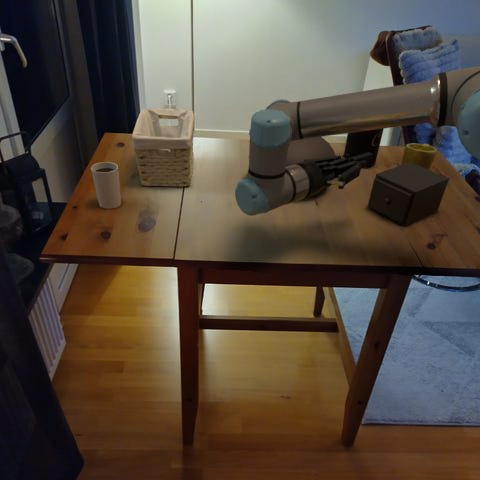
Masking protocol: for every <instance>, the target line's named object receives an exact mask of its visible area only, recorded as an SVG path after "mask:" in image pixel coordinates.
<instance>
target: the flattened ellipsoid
mask: <svg viewBox="0 0 480 480" xmlns="http://www.w3.org/2000/svg"><path fill="white" fill-rule="evenodd" d="M331 156H336V153H335V150H334V149H333V147H332V145H331V144H330V142H328V141H327V140H326V139H325V138H324V137H323V136H322V137H315V138H307V139H301V140H294V141H290V144H289V147H288V152H287V160H286V167H288V166H291V165H294V164H298V163H301V162H304V159H318V158H324V157H331Z"/></svg>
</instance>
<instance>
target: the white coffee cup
mask: <svg viewBox="0 0 480 480" xmlns="http://www.w3.org/2000/svg"><path fill="white" fill-rule="evenodd" d="M90 170H91V174H92V179H93V184H94V189H95V192H96V193H95V194H96V196H97V202H98V205H99V207H100V208H103V209H107V210H108V209H111V210H112V209H116V208H118V207H120V206H121V205H122V197H121V186H120V184H121V183H120V174H119V173H120V172H119V165H118V164H116V163H114V162H111V161H102V162H97V163H94V164H92V165H91V166H90Z"/></svg>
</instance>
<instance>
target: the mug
mask: <svg viewBox="0 0 480 480" xmlns="http://www.w3.org/2000/svg"><path fill="white" fill-rule="evenodd" d="M436 155H437V148H436V147H434V146H433V145H430V144H428V143H423V144H422V143H415V142H413V143H412V142H411V143H406V145H405V147H404V150H403V155H402V161H401V165H403V164H406V163H409V162H411V163H413V164H416V165H418V166H420V167H423V168H425V169H428V170H430V171H431V168H432V165H433V162H434V160H435V159H436Z"/></svg>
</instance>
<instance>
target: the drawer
mask: <svg viewBox="0 0 480 480" xmlns="http://www.w3.org/2000/svg"><path fill="white" fill-rule="evenodd" d="M411 198H412V193H410V192H408V191H405V190H403V189H401V188H399V187H397V186H395V185H392V184H390V183H388V182H386V181H384V180H380V179H378V178H376V179H375V178H374V179H373V183H372V187H371V191H370V195H369V199H368V203H367V207H368V206H369V207H371V208H372V209H371V208H370V209H371V210H373V209H374V210H373V211H375V210H376V211H375V212H377V211H378V212H377V213H379V212H380V213H379V214H381V213H382V214H381V215H383V214H384V215H383V216H385V215H386V216H388V217H390V218H392V219H394V220H396V221H398V222H400V223H403V222H404V221H405V218H406V214H407V211H408V208H409V205H410V201H411ZM369 207H368V208H369ZM386 216H385V217H386ZM388 217H387V218H388ZM390 218H389V219H390ZM392 219H391V220H392ZM394 220H393V221H394ZM396 221H395V222H396ZM398 222H397V223H398ZM400 223H399V224H400Z"/></svg>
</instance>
